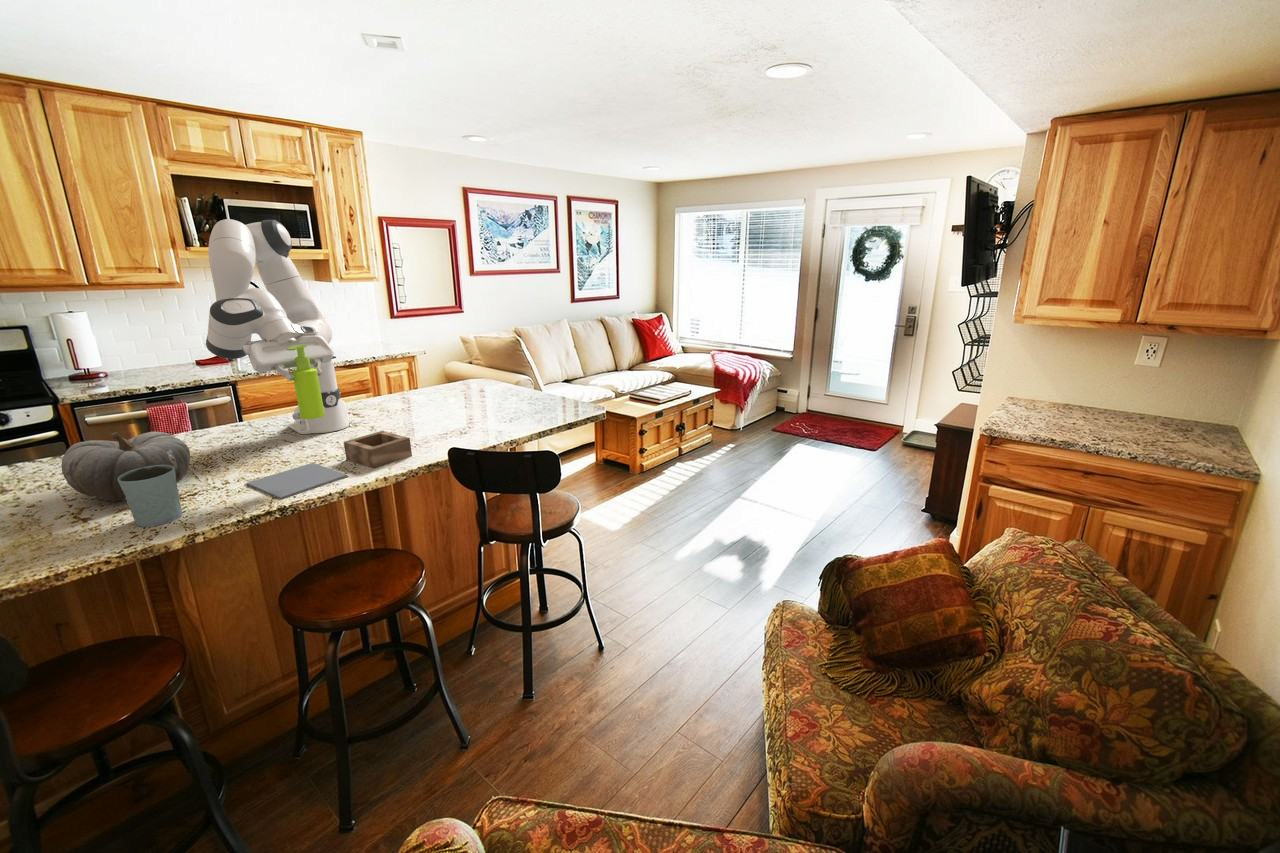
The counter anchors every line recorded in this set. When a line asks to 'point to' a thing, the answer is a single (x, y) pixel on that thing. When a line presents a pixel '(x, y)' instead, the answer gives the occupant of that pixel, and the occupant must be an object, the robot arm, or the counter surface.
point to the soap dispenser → (307, 386)
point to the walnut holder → (377, 449)
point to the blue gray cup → (152, 494)
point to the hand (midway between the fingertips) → (305, 376)
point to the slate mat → (296, 480)
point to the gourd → (120, 462)
